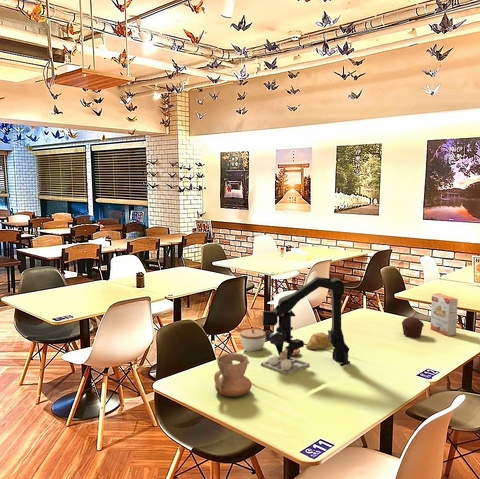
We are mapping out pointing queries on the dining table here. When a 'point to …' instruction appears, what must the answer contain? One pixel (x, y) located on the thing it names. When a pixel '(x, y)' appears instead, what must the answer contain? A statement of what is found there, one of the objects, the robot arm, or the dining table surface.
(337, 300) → the robot arm
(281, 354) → the brown egg
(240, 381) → the ceramic jug
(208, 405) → the dining table surface
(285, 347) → the small terracotta bowl
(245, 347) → the lidded bowl
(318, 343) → the croissant
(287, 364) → the white egg
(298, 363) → the egg carton
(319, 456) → the dining table surface
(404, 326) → the muffin
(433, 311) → the cracker box
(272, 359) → the white egg
